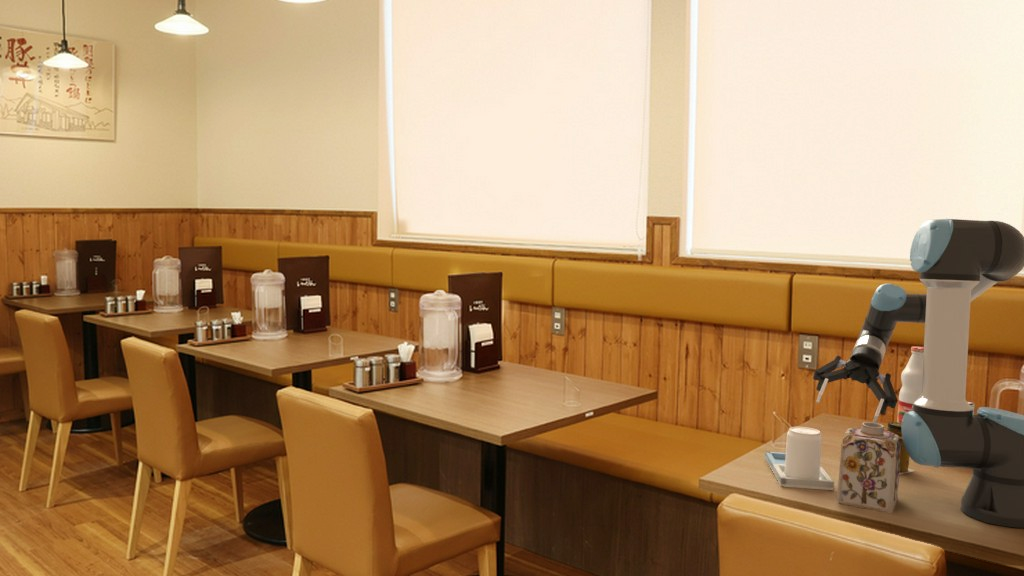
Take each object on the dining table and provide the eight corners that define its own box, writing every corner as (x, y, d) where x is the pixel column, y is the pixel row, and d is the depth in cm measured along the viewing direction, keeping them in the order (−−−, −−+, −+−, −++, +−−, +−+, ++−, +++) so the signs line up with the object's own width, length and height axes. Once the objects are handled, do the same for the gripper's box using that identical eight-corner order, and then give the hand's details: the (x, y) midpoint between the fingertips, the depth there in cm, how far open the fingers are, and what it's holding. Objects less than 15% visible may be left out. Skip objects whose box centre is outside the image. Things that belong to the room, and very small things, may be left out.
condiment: (915, 471, 214) (919, 425, 213) (896, 476, 210) (900, 429, 209) (889, 463, 220) (892, 419, 219) (870, 468, 216) (873, 423, 215)
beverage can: (824, 478, 203) (827, 430, 202) (810, 485, 197) (814, 436, 196) (792, 471, 209) (795, 424, 208) (778, 477, 203) (781, 429, 202)
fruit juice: (932, 440, 245) (939, 347, 243) (929, 448, 237) (937, 351, 235) (897, 435, 250) (904, 343, 248) (893, 442, 242) (900, 347, 240)
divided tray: (833, 490, 197) (833, 481, 196) (780, 486, 198) (781, 478, 198) (811, 462, 219) (812, 454, 219) (764, 458, 221) (765, 451, 221)
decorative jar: (844, 489, 197) (849, 415, 196) (897, 499, 192) (903, 423, 190) (835, 503, 187) (841, 425, 185) (892, 514, 181) (898, 434, 180)
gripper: (912, 384, 215) (895, 439, 201) (816, 350, 225) (792, 400, 211) (921, 363, 210) (904, 418, 196) (822, 329, 220) (799, 379, 206)
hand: (846, 409), depth 203 cm, fingers open, 13 cm apart
